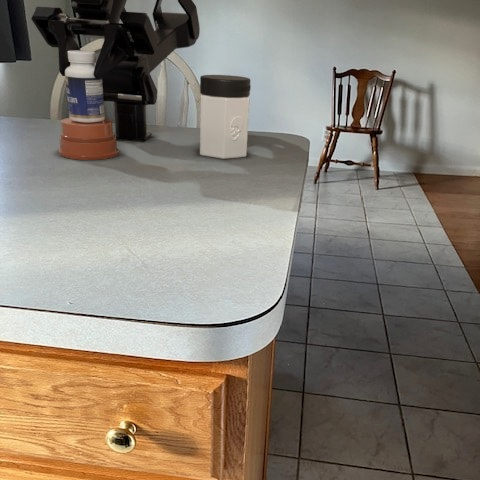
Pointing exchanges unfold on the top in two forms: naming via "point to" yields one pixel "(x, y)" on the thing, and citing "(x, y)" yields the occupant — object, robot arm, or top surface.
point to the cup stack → (87, 140)
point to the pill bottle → (84, 88)
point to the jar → (224, 116)
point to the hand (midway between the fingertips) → (78, 75)
